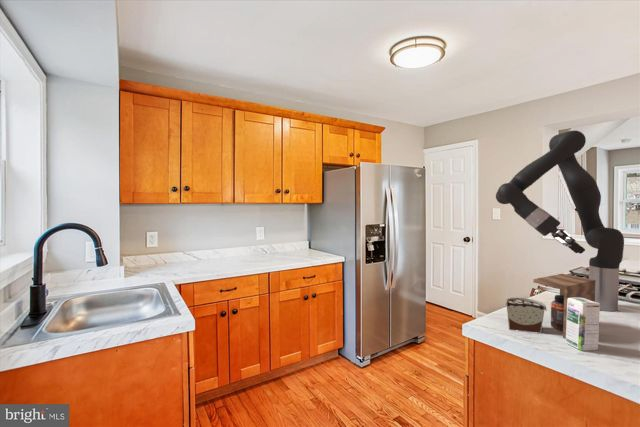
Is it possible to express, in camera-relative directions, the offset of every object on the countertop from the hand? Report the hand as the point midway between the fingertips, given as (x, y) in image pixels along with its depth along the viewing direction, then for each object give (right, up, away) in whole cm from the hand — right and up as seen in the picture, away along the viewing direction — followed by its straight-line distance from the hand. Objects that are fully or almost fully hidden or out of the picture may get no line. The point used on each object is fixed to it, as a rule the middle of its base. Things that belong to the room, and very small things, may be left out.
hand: (581, 251), depth 117 cm
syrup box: (-16, -27, -20) cm, 37 cm away
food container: (-25, -26, -6) cm, 37 cm away
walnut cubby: (-12, -26, -6) cm, 29 cm away
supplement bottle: (-12, -26, -6) cm, 30 cm away
